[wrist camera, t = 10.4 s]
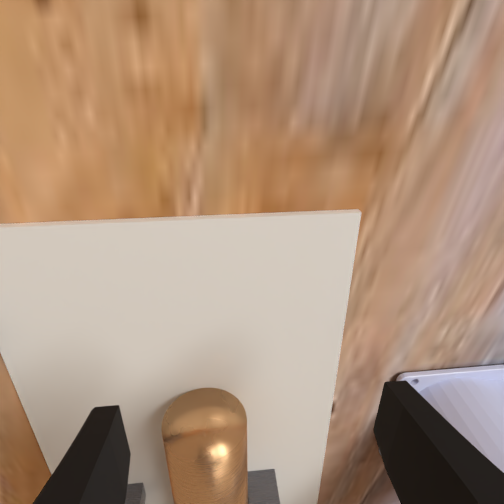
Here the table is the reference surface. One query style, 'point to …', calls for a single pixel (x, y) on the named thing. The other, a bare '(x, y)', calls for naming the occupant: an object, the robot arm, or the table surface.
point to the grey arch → (259, 489)
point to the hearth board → (181, 330)
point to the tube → (206, 448)
